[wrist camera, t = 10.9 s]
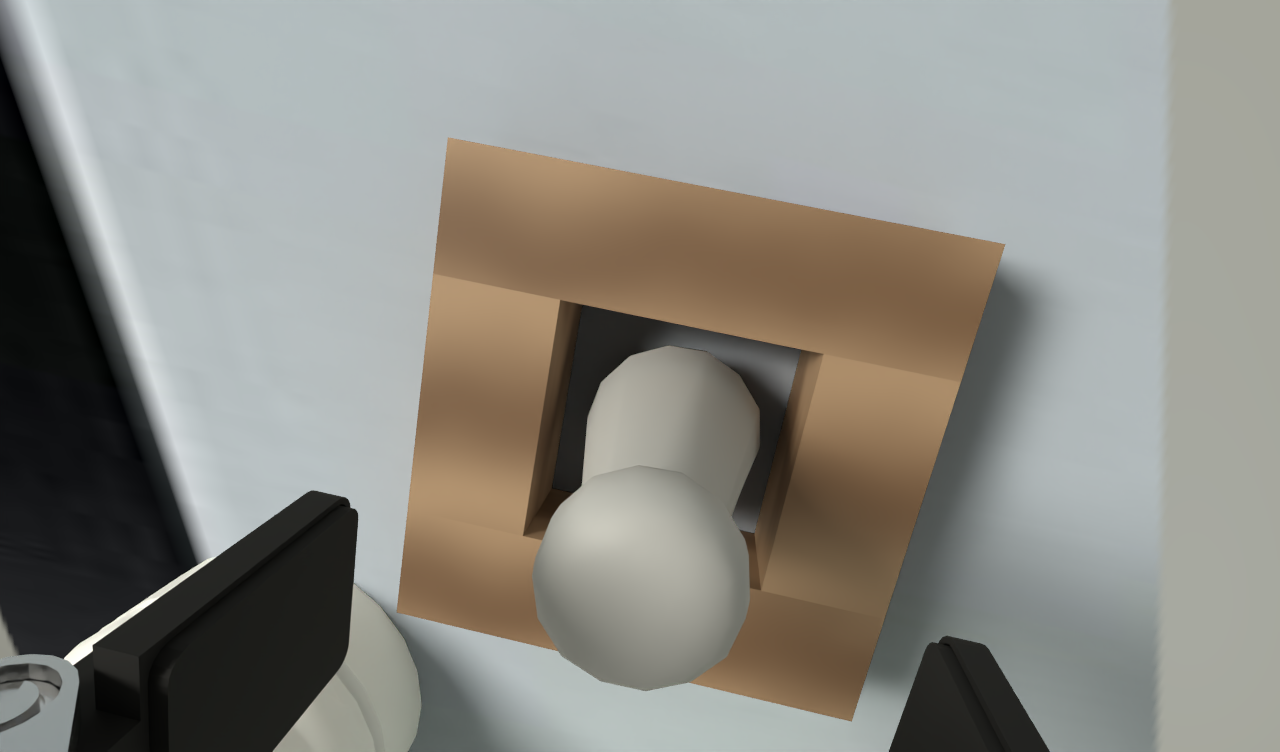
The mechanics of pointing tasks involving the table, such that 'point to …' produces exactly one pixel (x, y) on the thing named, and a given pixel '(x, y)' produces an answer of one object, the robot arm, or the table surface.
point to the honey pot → (342, 686)
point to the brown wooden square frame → (706, 299)
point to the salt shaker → (653, 525)
